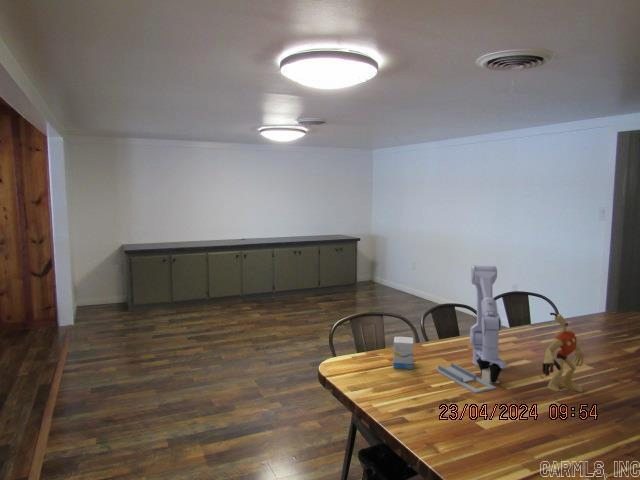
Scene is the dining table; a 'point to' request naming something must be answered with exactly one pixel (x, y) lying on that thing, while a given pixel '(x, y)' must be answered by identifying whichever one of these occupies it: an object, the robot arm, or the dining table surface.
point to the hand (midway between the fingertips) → (489, 379)
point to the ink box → (403, 353)
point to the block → (486, 375)
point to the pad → (491, 383)
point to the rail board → (463, 377)
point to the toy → (563, 357)
